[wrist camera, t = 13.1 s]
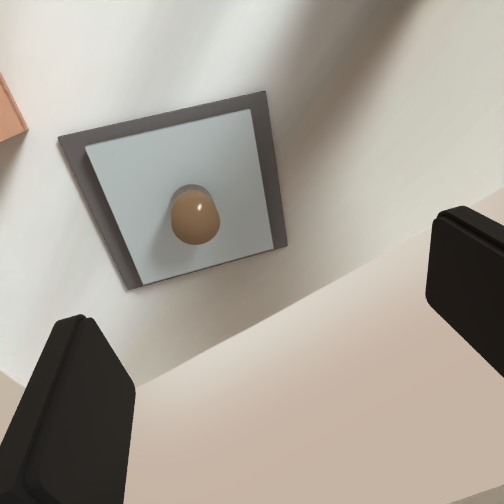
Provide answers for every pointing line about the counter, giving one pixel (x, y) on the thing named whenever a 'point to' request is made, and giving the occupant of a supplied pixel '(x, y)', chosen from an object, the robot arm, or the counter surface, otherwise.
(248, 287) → the counter surface
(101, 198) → the mat
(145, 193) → the lid
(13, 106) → the open storage tray
